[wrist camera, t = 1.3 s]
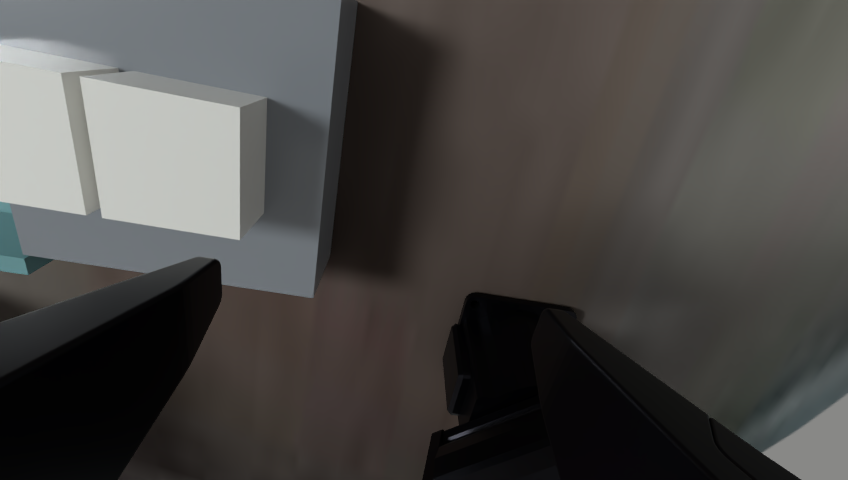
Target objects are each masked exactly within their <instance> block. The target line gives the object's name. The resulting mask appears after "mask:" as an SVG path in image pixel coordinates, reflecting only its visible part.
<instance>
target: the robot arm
mask: <svg viewBox="0 0 848 480" xmlns="http://www.w3.org/2000/svg"><path fill="white" fill-rule="evenodd" d="M221 298H222V275H221V264H220V262H219V260H218V259H214V258H207V257H201V256H200V257H194V258H191V259H188V260H185V261H182V262H179V263H176V264H173V265H170V266H167V267H164V268H161V269H158V270H155V271H152V272H149V273H146V274H143V275H140V276H137V277H134V278H131V279H128V280H125V281H122V282H119V283H116V284H113V285H110V286H107V287H104V288H101V289H98V290H95V291H92V292H89V293H86V294H83V295H80V296H77V297H74V298H71V299H68V300H65V301H62V302H59V303H56V304H53V305H50V306H47V307H44V308H41V309H38V310H35V311H32V312H29V313H26V314H23V315H20V316H17V317H14V318H11V319H8V320H5V321H2V322H0V480H118V478H119V477H120V475H121V474H122V472H123V470H124V469H125V467H126V466H127V464H128V463H129V461H130V459H131V458H132V456H133V455H134V453H135V452H136V450H137V448H138V447H139V445H140V444H141V442H142V441H143V439H144V437H145V436H146V434H147V433H148V431H149V430H150V428H151V426H152V425H153V423H154V422H155V420H156V419H157V417H158V415H159V414H160V412H161V411H162V409H163V408H164V406H165V404H166V403H167V401H168V400H169V398H170V397H171V395H172V393H173V392H174V390H175V389H176V387H177V386H178V384H179V383H180V381H181V379H182V378H183V376H184V374H185V373H186V371H187V369H188V368H189V366H190V364H191V362H192V360H193V358H194V356H195V354H196V352H197V350H198V348H199V346H200V344H201V342H202V340H203V338H204V336H205V334H206V332H207V330H208V327H209V325H210V323H211V321H212V319H213V317H214V315H215V313H216V311H217V309H218V307H219V305H220V302H221ZM472 301H478V302H477V303H476V304H471V302H472ZM576 319H577V316H576V314H575V312H574V310H573V309H571V308H569V307H562V306H556V305H550V304H543V303H537V302H531V301H524V300H518V299H512V298H505V297H499V296H492V295H486V294H480V293H471V294H469V295H468V296H466V298H465V301H464V305H463V308H462V312H461V315H460V319H459V322H458V324H455V325H454V326H452V327H451V331H450V334H449V338H448V341H447V345H446V348H445V352H444V356H443V367H444V378H445V390H446V401H447V410H448V412H449V413H450V414H451V415H457V416H458V421H459V426H456V427H454V428H451V429H448V430H446V431H444V430H440V431H437V432H434V433H432V436H431V441H430V446H429V450H428V455H427V460H426V465H425V470H424V475H423V479H422V480H801V479H799V478H798V477H796V476H795V475H793V474H792V473H790V472H789V471H787V470H786V469H784V468H783V467H782V466H780V465H778V464H777V463H776V462H774V461H772V460H771V459H770V458H768V457H767V456H765V455H764V454H762V453H761V452H759V451H758V450H757V449H755V448H754V447H752V446H751V445H750V444H748V443H747V442H745V441H744V440H742V439H741V438H740V437H738V436H737V435H735V434H734V433H732V432H731V431H730V430H728V429H727V428H726V427H724V426H723V425H721V424H720V423H719V422H717V421H716V420H715V419H713V418H709V416H708V415H707V414H706V413H705V412H703V411H702V410H701V409H699V408H698V407H696V406H695V405H694V404H692V403H691V402H689V401H688V400H687V399H685V398H684V397H682V396H681V395H680V394H678V393H677V392H676V391H674V390H673V389H671V388H670V387H669V386H667V385H666V384H665V383H663V382H662V381H660V380H659V379H658V378H656V377H655V376H653V375H652V374H651V373H649V372H648V371H647V370H645V369H644V368H642V367H641V366H640V365H638V364H637V363H635V362H634V361H633V360H631V359H630V358H629V357H627V356H626V355H624V354H623V353H622V352H620V351H619V350H617V349H616V348H615V347H613V346H612V345H611V344H609V343H608V342H606V341H605V340H604V339H602V338H601V337H599V336H598V335H597V334H595V333H594V332H593V331H591V330H590V329H588V328H587V327H586V326H584V325H583V324H581V323H580V322H579V321H577V320H576Z"/></svg>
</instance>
